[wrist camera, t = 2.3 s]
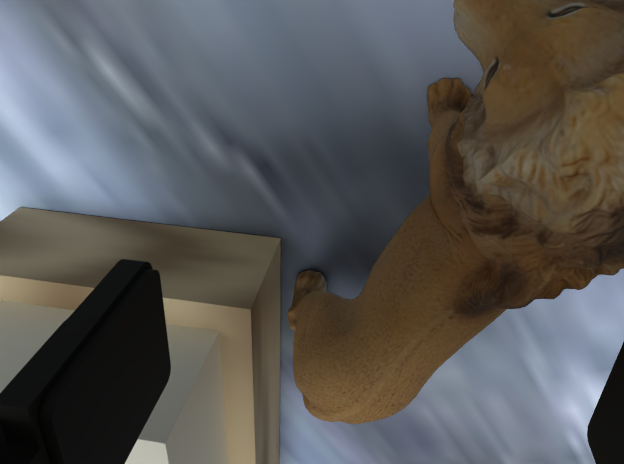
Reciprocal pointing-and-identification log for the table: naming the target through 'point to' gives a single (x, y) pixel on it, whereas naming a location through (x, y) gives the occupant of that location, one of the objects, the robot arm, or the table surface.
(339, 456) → the table surface
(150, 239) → the oak base brick
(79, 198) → the table surface
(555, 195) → the lion figurine
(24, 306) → the cream brick
